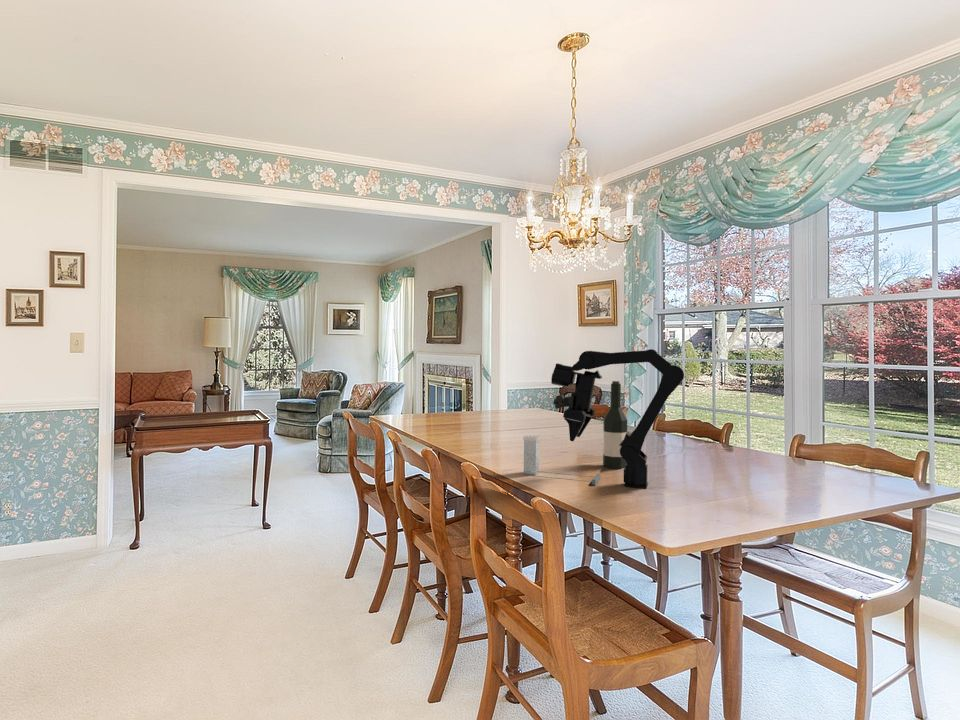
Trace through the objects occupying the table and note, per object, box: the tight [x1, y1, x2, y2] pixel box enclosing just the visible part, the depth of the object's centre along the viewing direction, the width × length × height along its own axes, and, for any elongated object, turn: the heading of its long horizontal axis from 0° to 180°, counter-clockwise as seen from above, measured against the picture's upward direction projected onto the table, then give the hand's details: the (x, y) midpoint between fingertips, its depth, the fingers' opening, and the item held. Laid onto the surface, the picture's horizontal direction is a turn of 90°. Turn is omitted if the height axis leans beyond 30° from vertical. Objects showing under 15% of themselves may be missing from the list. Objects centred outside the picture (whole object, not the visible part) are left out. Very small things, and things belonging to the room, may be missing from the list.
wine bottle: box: [602, 380, 628, 470], centre depth 195 cm, size 8×8×30 cm
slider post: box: [522, 434, 541, 476], centre depth 181 cm, size 4×4×12 cm
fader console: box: [526, 470, 601, 486], centre depth 177 cm, size 23×9×2 cm, turn 68°
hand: (574, 438), depth 176 cm, fingers open, 9 cm apart
